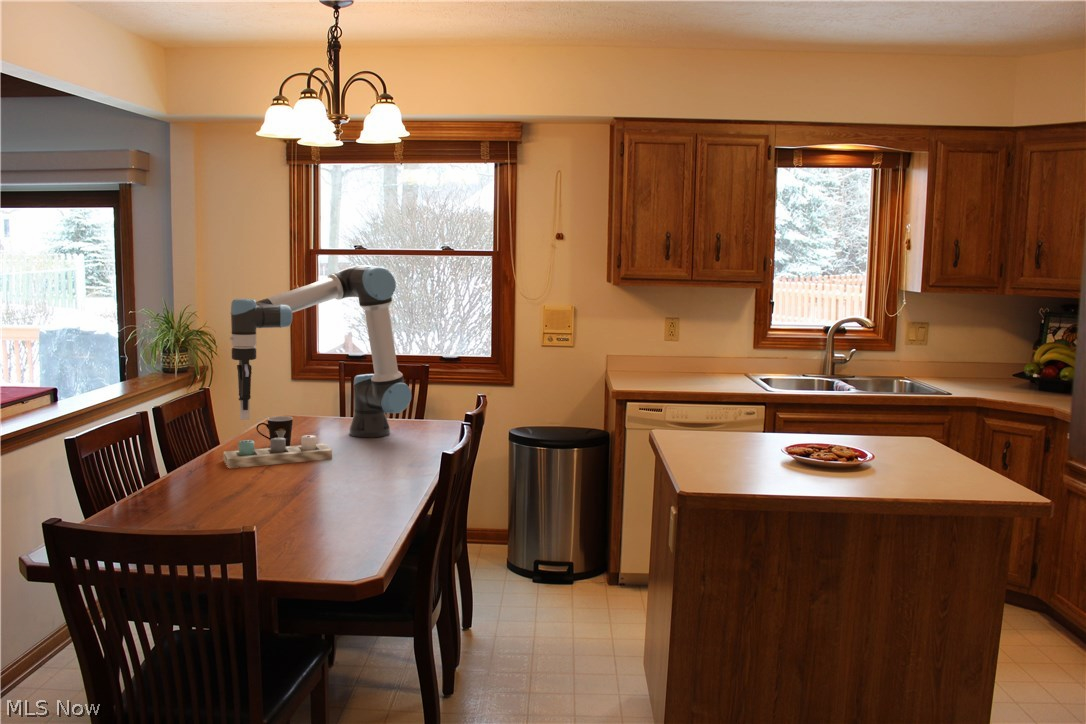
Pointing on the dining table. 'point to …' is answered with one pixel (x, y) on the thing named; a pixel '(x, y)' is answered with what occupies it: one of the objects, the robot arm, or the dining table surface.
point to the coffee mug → (279, 428)
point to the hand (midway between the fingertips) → (244, 419)
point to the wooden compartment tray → (277, 456)
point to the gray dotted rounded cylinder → (278, 445)
